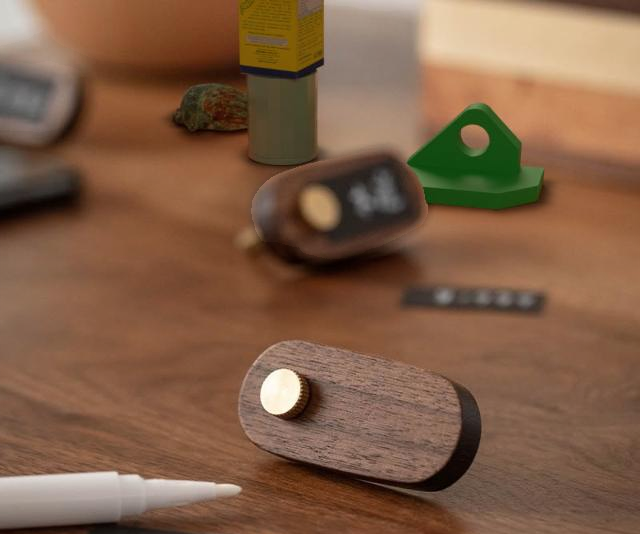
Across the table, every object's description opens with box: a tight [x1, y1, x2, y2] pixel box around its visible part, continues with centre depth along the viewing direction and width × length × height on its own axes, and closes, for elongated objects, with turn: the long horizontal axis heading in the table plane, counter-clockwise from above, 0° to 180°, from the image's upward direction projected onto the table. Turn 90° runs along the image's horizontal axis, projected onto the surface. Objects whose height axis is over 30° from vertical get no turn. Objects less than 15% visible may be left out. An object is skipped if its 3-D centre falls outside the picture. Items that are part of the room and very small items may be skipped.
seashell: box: [171, 82, 247, 133], centre depth 132 cm, size 10×4×10 cm
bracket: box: [406, 101, 545, 210], centre depth 112 cm, size 12×8×7 cm, turn 75°
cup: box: [245, 69, 319, 166], centre depth 121 cm, size 6×6×8 cm
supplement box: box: [237, 0, 325, 80], centre depth 117 cm, size 6×6×11 cm
